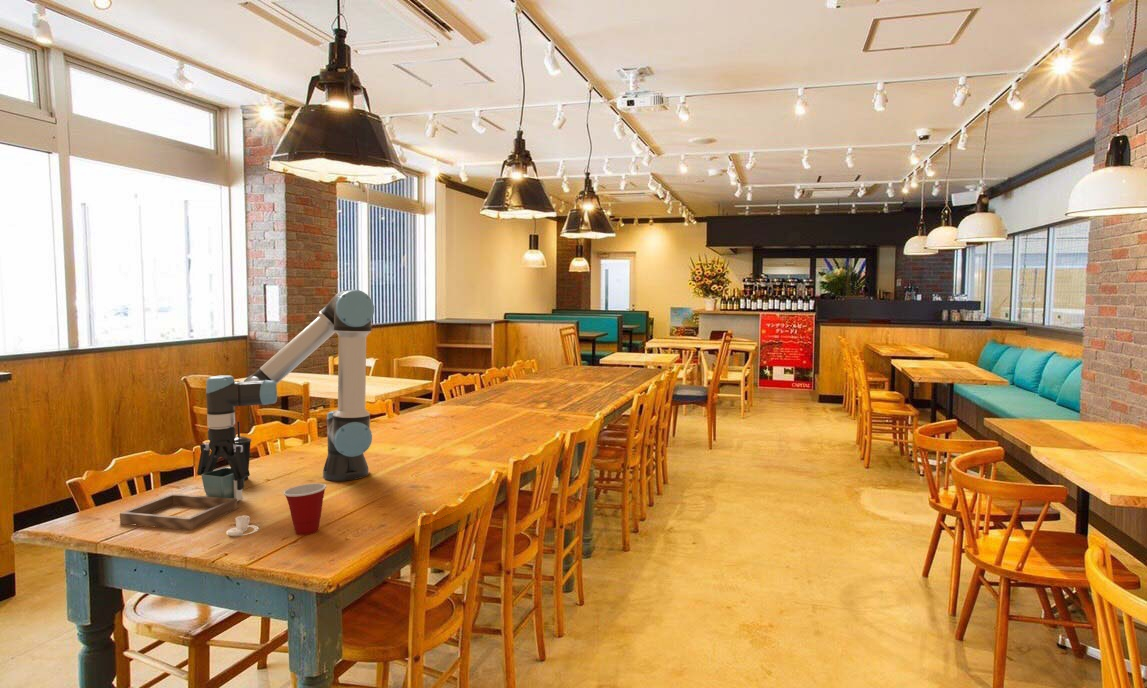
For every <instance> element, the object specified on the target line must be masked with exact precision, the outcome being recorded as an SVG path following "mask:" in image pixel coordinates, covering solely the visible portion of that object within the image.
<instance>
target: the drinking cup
mask: <svg viewBox="0 0 1147 688" xmlns="http://www.w3.org/2000/svg"><path fill="white" fill-rule="evenodd" d="M240 424H241V423H240V421H237V422H236V426H237V430H236V432H237V436H236V437H235V440H234V441H235V443H236V445H244V446H245V450H244V453H245V457H246V461H247V465H248V469H250V455H251V442H252V438H250V437H247V436H241V432H240V430H241V429H240ZM234 450H235V449H234ZM235 454H236V452H235ZM230 456H231V455H230ZM248 480H249V476H248V477H245V478H244V482H245V481H248Z"/></svg>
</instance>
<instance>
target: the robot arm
mask: <svg viewBox="0 0 1147 688" xmlns="http://www.w3.org/2000/svg"><path fill="white" fill-rule="evenodd" d="M374 314H375V306H374V302H373V300H372V298H371V297H370V296H369V295H368V294H367V293H366V292H364V291H362V290H359V289H354V288H353V289H344V290H342V291H339V292H338V293H336V294H335V295H334V296H333V297H332V298H331V299H330V300H329V302H328V303H327V304H326V305H325V306H324V307H323V308H322V309H321V310H319V312H318V316H317V317H316V318H315V319H314V320H313V321H311V322H310V324H308V325H307V326H306V327H305V328H304V329H302V331H300V332H299V333H298V334H296V336H295V337H293V338H292V339H291V340H290V341H289V342H288V343H287V344H285V345H284V346H283V347H282V348H280V349H279V350H278V351H277V352H276V353H275V354H274V355H273V356H272V357H271V358H269V359H268V360H267V361H266V362H264V364H262V366H260V367H259V368H258V369H257V370H256V371H255V372H254V373H252V374H251V375H249V376H247V377H246V378H244V381H235V378H234V376H232V375H227V374H226V375H223V374H222V375H214V376H212V375H211V376H210V377H208V378H207V379H206V381H205V383H206V384H205V385H206V386H205V387H206V388H205V396H206V400H205V401H206V411H207V412H206V417H207V421H206V423H207V424H206V426H207V427H208V429H207V440H208V441H209V442H205V443H201V444H199V446H200V447H199V448H200V454H199V459H198V460H199V461H198V466H197V471H196V474H197V476H201V474H204V473H208V472H211V471H214V469H215V467H216V466H217V465H216V464H217V462H218V460H219V458H223V459H224V460H225V461H227V464H228V466H229V468H231V470H232V472H233V474H234V476H235V478H236V479H235V480H233V481H234V499H237V502H238V501H241V500H243V490H244V489H245V481H244V478H245V477H248V478H249V477H250V475H251V474H250V470H249V469H250V468H249V469H248V465H247V461H246V457H245V453H244V450H245V446H244V445H236V443H235V441H234V440H235V437H237V435H236V433H237V430H236V426H235V425H236V409H235V408H236V407H247V406H266V405H273V404H276V403H277V401H278V388H277V385H278V384H279V383H280V382H281V381H283V379H285V378H286V377H287V376H288V375H289V374H290V373H291V372H292V371H294V370H295V369H296V368H297V367H298V366H299V365H300V364H301V363H302V362H304V361H305V360H306V359H307V358H308V357H309V356H310V355H312V354H313V353H314V352H315V351H316V350H317V349H318V348H319V347H321V345H323V344H324V343H325V342H326V341H327V340H328V339H330V338H331V337H332V336H334V334H337V336H338V362H337V363H338V365H337V366H338V369H337V370H338V372H337V373H338V374H337V375H338V376H337V377H338V378H337V409H336V410H331V411H328V412H327V414H326V428H327V433H326V434H327V435H326V436H327V455H326V456H327V457H326V460H325V463H324V466H323V470H322V477H323V479H324V480H327V481H332V482H334V481H335V482H342V481H343V482H346V481H353V480H358V479H361V478H365V477H367V476H368V475H369V472H370V471H369V465H368V462H367V459H366V457H365V454H364V453H366V452H367V451H368V450H369V448H370V447H371V445H372V442H373V433H372V430H371V428H370V427H371V424H370V423H371V422H370V421H371V418H370V417H371V412H369V411H368V410H367V409H366V389H367V388H366V384H367V383H366V378H367V376H366V375H367V337H368V336H369V334H371V333H372V319H373V317H374ZM234 449H235V450H234ZM235 452H236V454H235ZM230 455H231V456H230ZM205 496H207V494H206V493H205Z"/></svg>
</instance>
